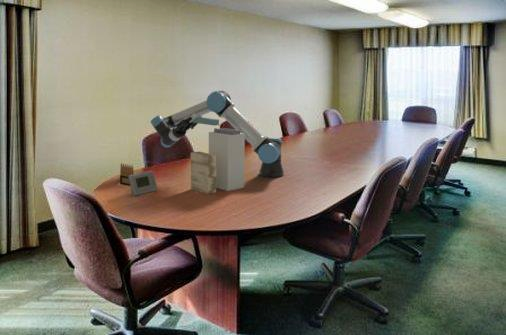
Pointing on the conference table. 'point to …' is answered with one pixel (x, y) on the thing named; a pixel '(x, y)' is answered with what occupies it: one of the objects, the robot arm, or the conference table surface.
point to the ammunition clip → (125, 174)
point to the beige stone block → (203, 172)
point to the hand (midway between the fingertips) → (198, 115)
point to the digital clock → (142, 183)
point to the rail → (206, 121)
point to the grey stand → (228, 157)
